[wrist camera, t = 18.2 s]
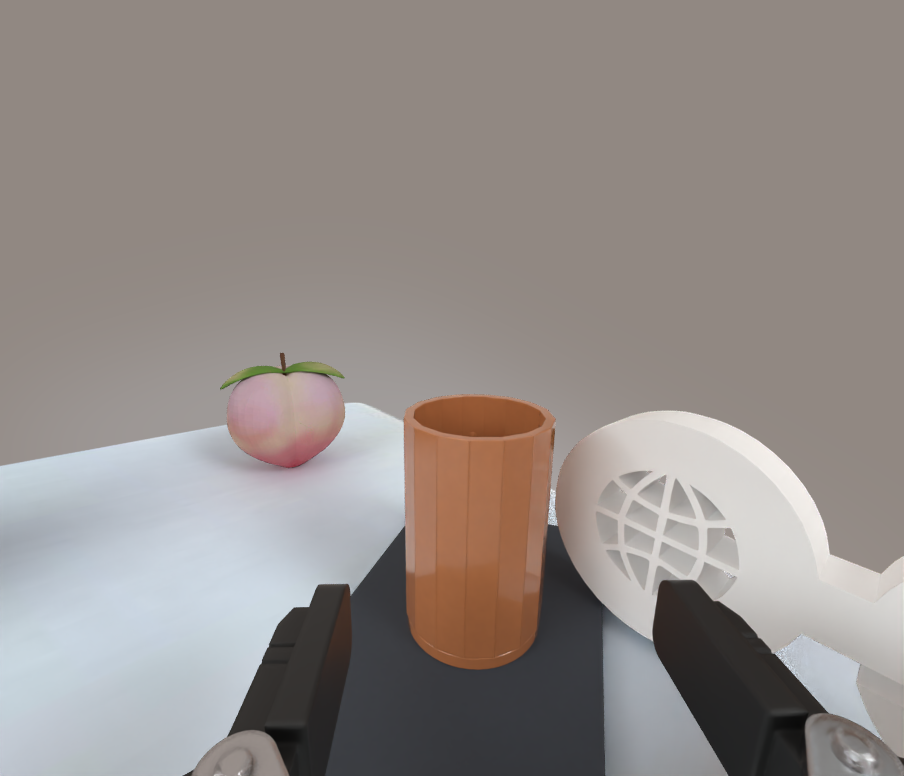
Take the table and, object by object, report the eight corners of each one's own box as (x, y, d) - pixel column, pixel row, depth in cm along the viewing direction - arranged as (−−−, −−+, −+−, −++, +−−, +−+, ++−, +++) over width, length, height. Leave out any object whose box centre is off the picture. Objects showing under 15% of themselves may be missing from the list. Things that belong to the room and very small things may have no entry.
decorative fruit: (332, 441, 43) (327, 341, 41) (358, 473, 37) (353, 356, 34) (227, 459, 39) (214, 348, 36) (234, 499, 32) (217, 366, 30)
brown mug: (554, 669, 18) (574, 440, 15) (402, 672, 18) (398, 440, 15) (515, 538, 27) (524, 380, 24) (413, 539, 26) (412, 379, 24)
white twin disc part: (545, 573, 23) (568, 394, 21) (568, 557, 25) (592, 388, 22) (1544, 1217, 8) (2134, 826, 5) (1451, 1074, 9) (1875, 711, 7)
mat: (223, 775, 14) (222, 761, 14) (423, 509, 31) (423, 502, 31) (605, 942, 11) (608, 927, 11) (599, 541, 28) (600, 533, 27)
